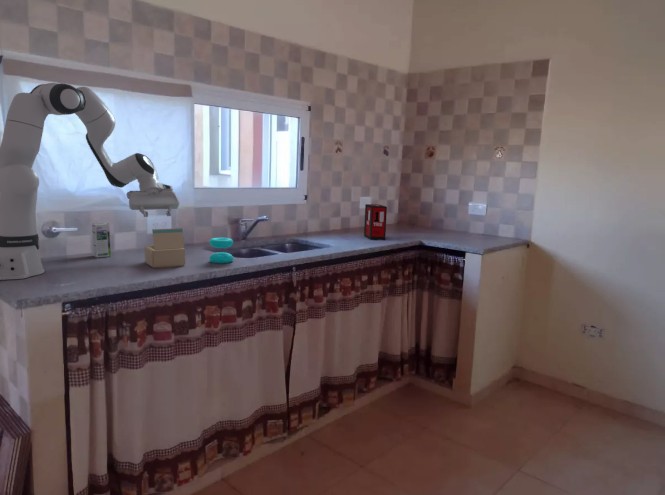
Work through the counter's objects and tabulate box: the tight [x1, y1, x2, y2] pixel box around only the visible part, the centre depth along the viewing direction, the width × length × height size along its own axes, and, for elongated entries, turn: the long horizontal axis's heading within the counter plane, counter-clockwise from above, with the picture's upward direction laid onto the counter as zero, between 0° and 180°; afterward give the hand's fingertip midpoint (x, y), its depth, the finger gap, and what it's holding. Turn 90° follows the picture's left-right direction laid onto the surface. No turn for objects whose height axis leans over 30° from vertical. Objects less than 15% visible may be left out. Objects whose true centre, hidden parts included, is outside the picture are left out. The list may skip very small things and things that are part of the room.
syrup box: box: [91, 222, 112, 259], centre depth 205 cm, size 6×6×14 cm
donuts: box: [208, 237, 234, 264], centre depth 203 cm, size 10×10×10 cm
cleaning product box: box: [363, 203, 388, 241], centre depth 289 cm, size 16×9×20 cm, turn 10°
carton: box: [144, 244, 186, 269], centre depth 195 cm, size 13×14×7 cm
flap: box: [152, 227, 185, 250], centre depth 188 cm, size 12×1×8 cm, turn 124°
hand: (157, 215), depth 200 cm, fingers open, 8 cm apart
